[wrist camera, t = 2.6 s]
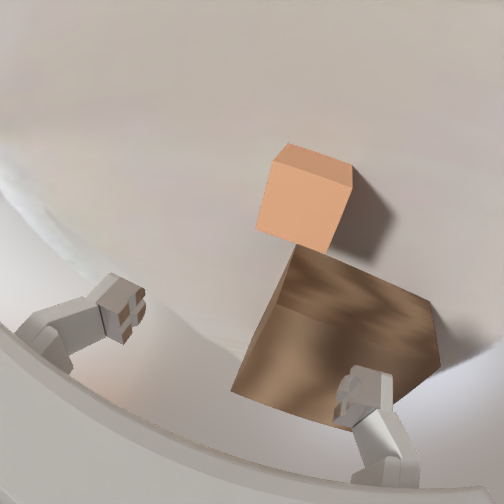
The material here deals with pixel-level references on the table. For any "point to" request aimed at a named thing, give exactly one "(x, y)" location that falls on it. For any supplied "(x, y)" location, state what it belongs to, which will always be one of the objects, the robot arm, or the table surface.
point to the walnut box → (334, 337)
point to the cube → (305, 197)
